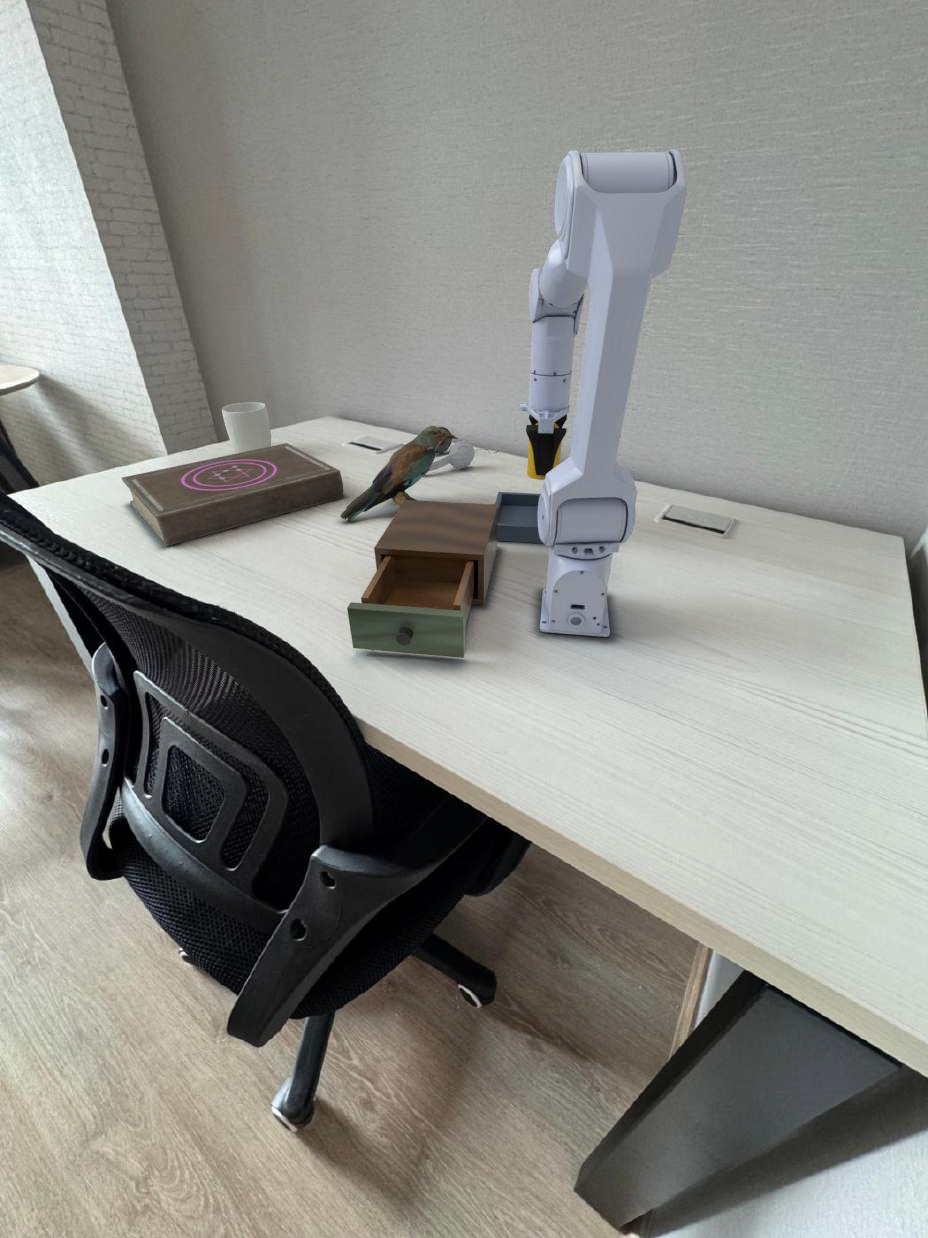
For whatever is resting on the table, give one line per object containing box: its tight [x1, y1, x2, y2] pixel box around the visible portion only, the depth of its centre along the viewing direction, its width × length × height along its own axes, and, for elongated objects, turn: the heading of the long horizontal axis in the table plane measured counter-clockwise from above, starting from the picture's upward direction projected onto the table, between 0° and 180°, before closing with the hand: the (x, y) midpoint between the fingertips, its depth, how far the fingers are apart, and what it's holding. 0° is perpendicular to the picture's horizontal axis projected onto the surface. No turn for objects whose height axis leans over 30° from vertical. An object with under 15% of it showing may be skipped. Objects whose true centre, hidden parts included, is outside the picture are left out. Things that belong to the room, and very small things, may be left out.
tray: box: [494, 491, 544, 544], centre depth 90 cm, size 14×16×3 cm
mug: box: [221, 401, 272, 454], centre depth 121 cm, size 13×9×10 cm
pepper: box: [526, 422, 563, 481], centre depth 83 cm, size 5×5×9 cm
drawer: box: [346, 554, 476, 659], centre depth 65 cm, size 16×12×5 cm
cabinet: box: [373, 499, 498, 606], centre depth 76 cm, size 16×14×7 cm
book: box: [121, 442, 345, 547], centre depth 99 cm, size 30×22×5 cm
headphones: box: [389, 426, 502, 472], centre depth 114 cm, size 17×6×20 cm
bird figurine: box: [339, 425, 459, 523], centre depth 93 cm, size 13×10×20 cm
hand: (543, 468), depth 85 cm, fingers closed on pepper, 5 cm apart
